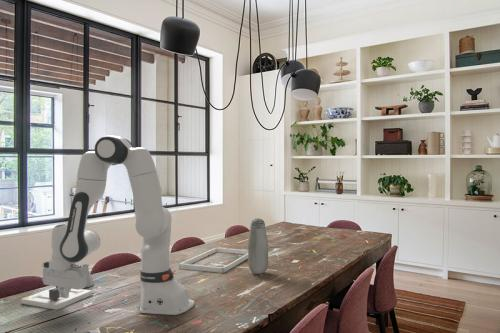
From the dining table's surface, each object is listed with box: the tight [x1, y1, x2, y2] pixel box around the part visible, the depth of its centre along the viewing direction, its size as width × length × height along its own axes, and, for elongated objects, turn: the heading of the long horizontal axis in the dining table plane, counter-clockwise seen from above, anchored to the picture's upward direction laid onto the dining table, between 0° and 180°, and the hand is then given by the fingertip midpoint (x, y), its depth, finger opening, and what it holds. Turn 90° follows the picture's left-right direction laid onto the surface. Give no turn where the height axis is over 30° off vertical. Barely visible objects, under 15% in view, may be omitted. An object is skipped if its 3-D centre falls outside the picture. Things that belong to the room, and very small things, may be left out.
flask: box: [81, 263, 95, 289], centre depth 180 cm, size 7×7×10 cm
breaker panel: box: [21, 286, 93, 311], centre depth 162 cm, size 20×18×2 cm
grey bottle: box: [247, 217, 269, 275], centre depth 194 cm, size 10×10×28 cm
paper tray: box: [178, 247, 248, 274], centre depth 221 cm, size 27×42×2 cm, turn 157°
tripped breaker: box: [49, 287, 60, 300], centre depth 156 cm, size 2×3×4 cm
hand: (64, 297), depth 154 cm, fingers closed
